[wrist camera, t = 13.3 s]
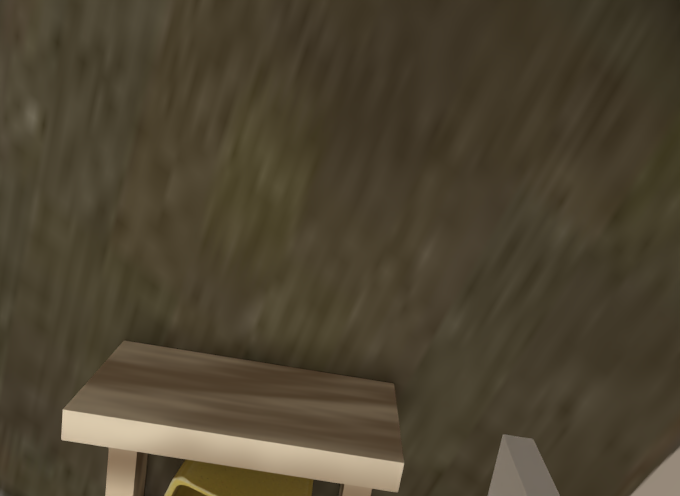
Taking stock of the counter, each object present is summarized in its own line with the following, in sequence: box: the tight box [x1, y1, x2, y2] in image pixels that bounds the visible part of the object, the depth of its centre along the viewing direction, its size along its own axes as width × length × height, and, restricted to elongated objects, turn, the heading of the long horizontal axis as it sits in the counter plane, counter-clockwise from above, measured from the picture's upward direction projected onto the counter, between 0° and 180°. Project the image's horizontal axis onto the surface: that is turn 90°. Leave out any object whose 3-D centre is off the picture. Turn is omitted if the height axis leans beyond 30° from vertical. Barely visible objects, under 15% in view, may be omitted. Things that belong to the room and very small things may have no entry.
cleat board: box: [61, 340, 404, 496], centre depth 43 cm, size 14×20×10 cm
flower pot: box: [164, 459, 313, 496], centre depth 43 cm, size 9×9×9 cm
